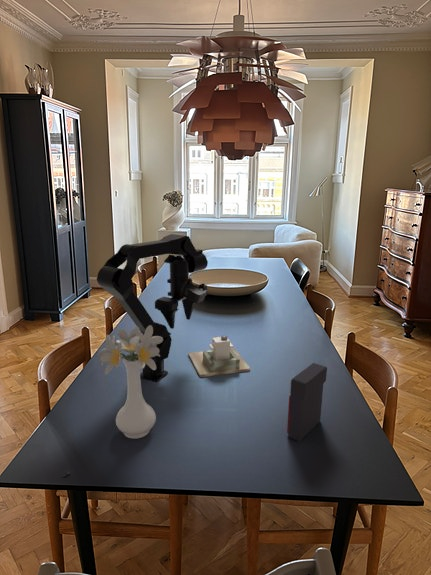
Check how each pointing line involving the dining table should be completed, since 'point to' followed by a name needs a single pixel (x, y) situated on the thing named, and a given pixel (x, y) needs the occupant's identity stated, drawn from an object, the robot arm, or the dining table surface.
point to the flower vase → (133, 377)
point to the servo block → (220, 348)
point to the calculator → (305, 401)
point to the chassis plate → (217, 363)
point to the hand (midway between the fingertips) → (180, 323)
